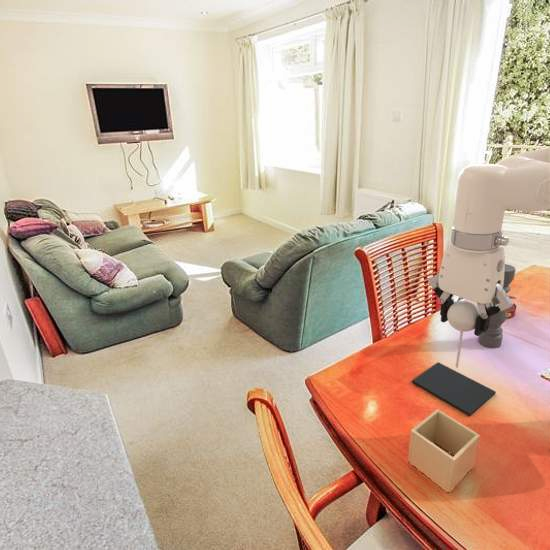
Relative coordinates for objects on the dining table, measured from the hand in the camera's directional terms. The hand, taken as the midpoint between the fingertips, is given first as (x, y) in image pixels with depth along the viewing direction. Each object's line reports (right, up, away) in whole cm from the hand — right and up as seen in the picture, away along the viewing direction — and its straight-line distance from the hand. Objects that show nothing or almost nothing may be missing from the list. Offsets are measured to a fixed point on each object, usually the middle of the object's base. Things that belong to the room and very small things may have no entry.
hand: (462, 325), depth 73 cm
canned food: (+42, -3, +58) cm, 71 cm away
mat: (+10, -20, +25) cm, 34 cm away
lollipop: (+1, -9, +4) cm, 10 cm away
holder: (-2, -30, +5) cm, 30 cm away
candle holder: (+30, -11, +42) cm, 53 cm away
